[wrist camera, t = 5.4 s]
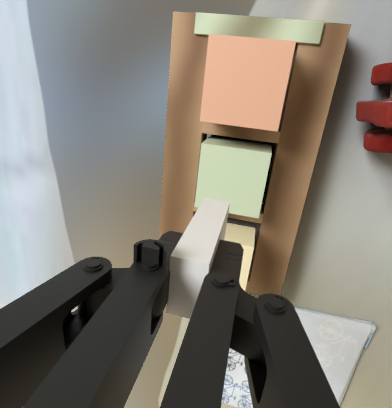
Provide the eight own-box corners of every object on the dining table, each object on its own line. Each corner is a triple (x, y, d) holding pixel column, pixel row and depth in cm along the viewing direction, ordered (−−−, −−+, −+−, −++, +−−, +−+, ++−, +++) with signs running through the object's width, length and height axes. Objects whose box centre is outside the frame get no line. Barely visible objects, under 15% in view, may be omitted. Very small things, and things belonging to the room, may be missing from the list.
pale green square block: (270, 145, 28) (271, 153, 24) (259, 203, 30) (258, 218, 27) (209, 136, 29) (201, 143, 25) (202, 193, 31) (194, 206, 28)
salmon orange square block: (291, 48, 23) (296, 41, 20) (275, 125, 26) (277, 131, 22) (217, 42, 24) (208, 33, 21) (208, 117, 27) (199, 121, 23)
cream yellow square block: (255, 227, 29) (254, 247, 26) (245, 277, 32) (243, 301, 28) (197, 217, 30) (187, 234, 27) (191, 266, 33) (182, 287, 29)
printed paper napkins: (208, 282, 38) (205, 293, 36) (378, 319, 34) (385, 333, 32) (194, 385, 45) (191, 399, 43) (334, 424, 41) (337, 441, 39)
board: (341, 31, 25) (352, 23, 22) (278, 283, 35) (279, 301, 32) (182, 19, 27) (172, 10, 24) (164, 259, 37) (155, 273, 34)
